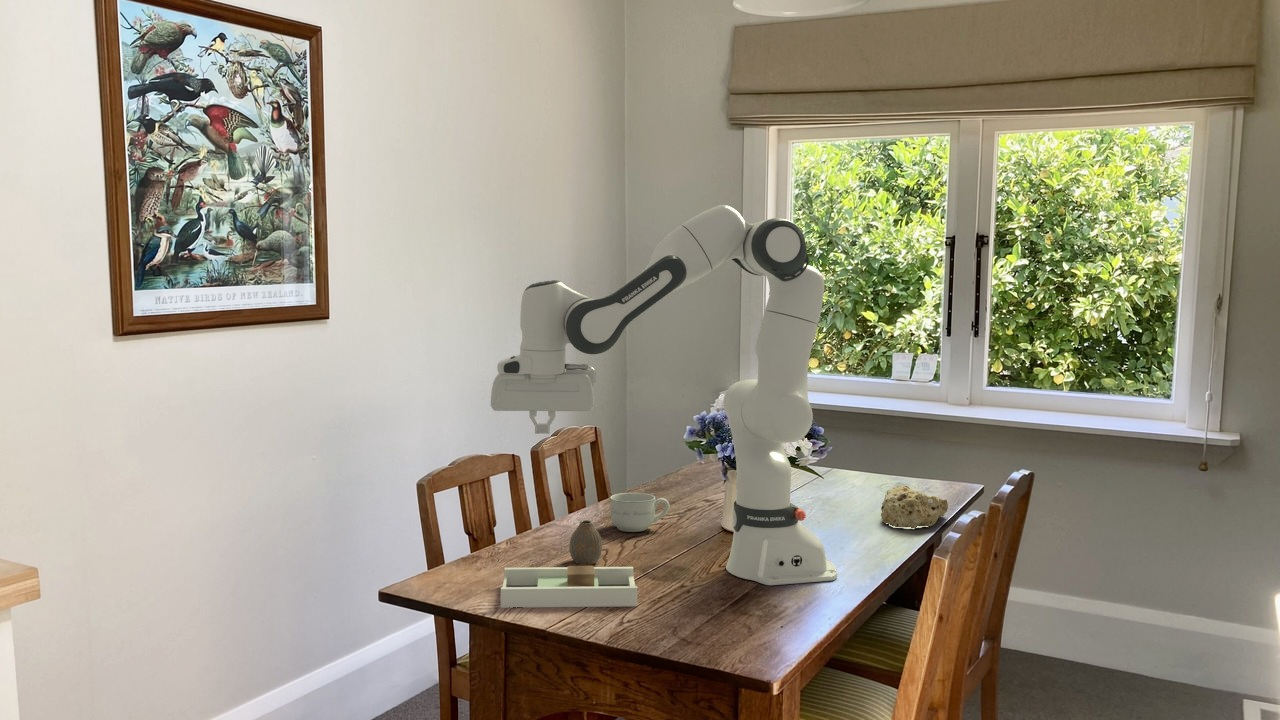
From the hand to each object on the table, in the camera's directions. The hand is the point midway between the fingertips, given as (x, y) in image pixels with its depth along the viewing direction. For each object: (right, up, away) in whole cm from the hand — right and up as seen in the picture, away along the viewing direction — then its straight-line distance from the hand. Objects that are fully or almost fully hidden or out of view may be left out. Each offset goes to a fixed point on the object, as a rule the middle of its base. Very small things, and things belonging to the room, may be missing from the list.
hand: (542, 433), depth 192 cm
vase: (+8, -28, +12) cm, 32 cm away
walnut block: (+8, -28, -8) cm, 30 cm away
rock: (+87, -26, +48) cm, 103 cm away
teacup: (+19, -26, +37) cm, 49 cm away
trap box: (+6, -30, -8) cm, 32 cm away
